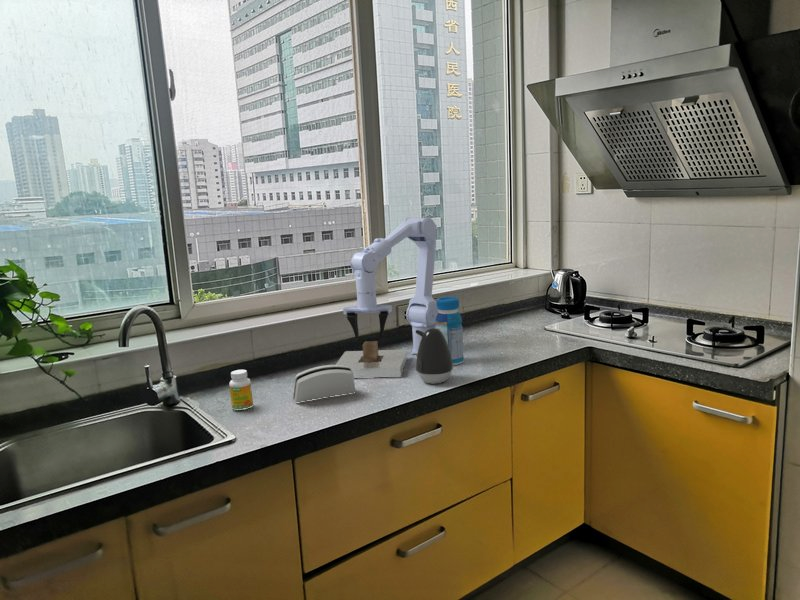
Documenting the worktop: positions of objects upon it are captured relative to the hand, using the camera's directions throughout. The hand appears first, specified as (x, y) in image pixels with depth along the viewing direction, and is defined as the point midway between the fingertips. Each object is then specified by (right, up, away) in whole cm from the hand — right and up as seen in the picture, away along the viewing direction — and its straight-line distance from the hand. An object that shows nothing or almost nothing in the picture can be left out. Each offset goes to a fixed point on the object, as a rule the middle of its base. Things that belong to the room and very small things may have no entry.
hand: (369, 336), depth 182 cm
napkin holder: (-11, -15, -22) cm, 29 cm away
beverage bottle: (+25, -8, +3) cm, 26 cm away
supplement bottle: (-31, -17, -26) cm, 44 cm away
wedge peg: (+1, -10, +2) cm, 10 cm away
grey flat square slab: (+1, -10, +2) cm, 10 cm away
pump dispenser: (+19, -12, -14) cm, 26 cm away
